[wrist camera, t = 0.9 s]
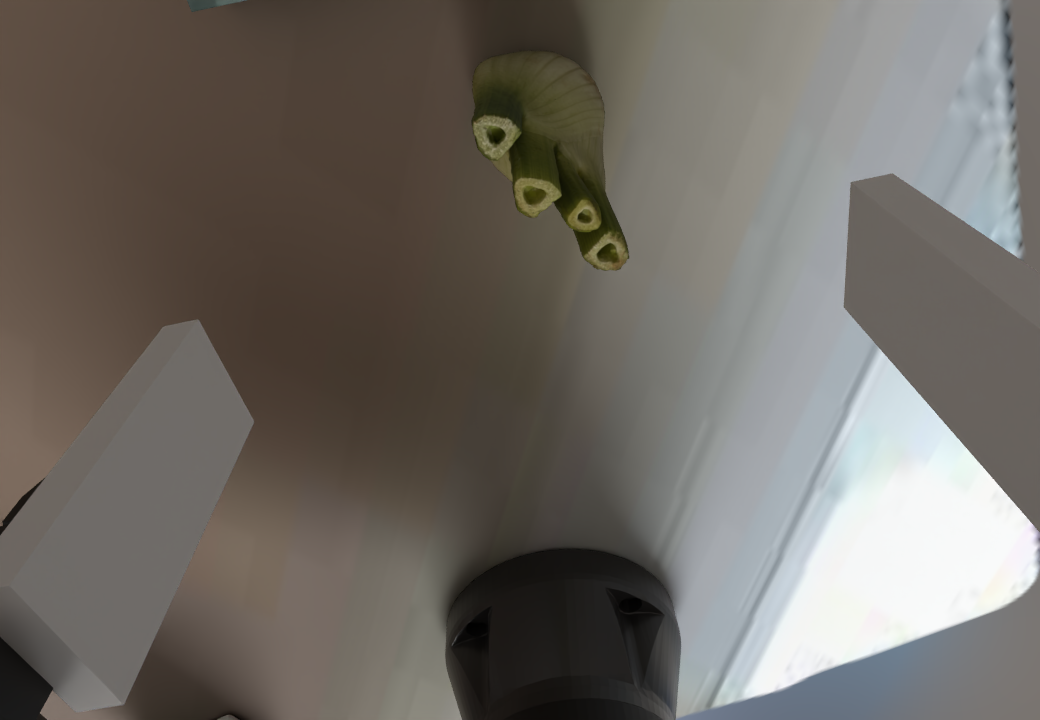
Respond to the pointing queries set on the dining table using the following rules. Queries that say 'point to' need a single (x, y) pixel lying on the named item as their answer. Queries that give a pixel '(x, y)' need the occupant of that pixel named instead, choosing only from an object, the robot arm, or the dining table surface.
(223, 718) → the skincare box
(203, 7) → the tray
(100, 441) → the robot arm
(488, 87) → the fennel bulb
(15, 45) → the dining table surface
